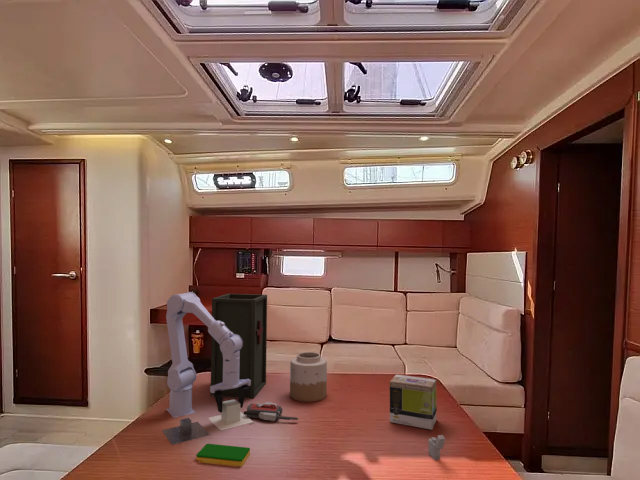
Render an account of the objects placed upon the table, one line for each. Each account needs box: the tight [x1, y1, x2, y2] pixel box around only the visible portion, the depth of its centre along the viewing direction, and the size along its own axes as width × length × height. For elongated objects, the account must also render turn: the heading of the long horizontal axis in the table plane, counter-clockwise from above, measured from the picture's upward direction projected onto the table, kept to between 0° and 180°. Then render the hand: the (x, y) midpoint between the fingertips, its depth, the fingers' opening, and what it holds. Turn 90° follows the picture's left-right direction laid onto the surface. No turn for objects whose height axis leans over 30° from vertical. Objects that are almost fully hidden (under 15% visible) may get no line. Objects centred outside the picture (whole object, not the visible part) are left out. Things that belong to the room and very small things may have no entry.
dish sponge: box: [195, 443, 251, 467], centre depth 119 cm, size 7×14×2 cm, turn 80°
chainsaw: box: [242, 401, 299, 422], centre depth 147 cm, size 9×4×20 cm
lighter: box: [428, 434, 446, 461], centre depth 120 cm, size 7×2×8 cm, turn 11°
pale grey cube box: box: [220, 398, 241, 424], centre depth 143 cm, size 5×5×6 cm
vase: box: [289, 351, 328, 403], centre depth 170 cm, size 15×15×17 cm
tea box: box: [389, 374, 438, 431], centre depth 145 cm, size 15×10×15 cm, turn 65°
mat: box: [208, 410, 255, 432], centre depth 143 cm, size 12×12×1 cm
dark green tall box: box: [210, 293, 268, 399], centre depth 176 cm, size 18×18×40 cm
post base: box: [161, 417, 211, 446], centre depth 133 cm, size 12×12×4 cm
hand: (230, 409), depth 144 cm, fingers open, 7 cm apart
